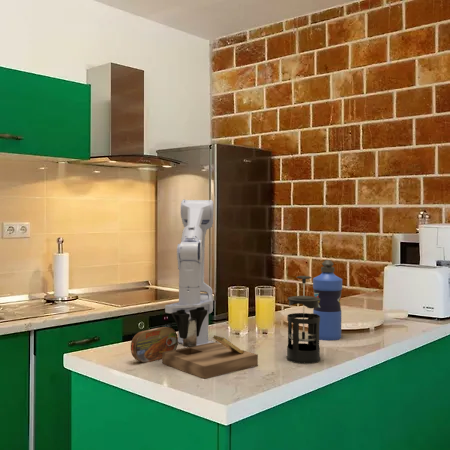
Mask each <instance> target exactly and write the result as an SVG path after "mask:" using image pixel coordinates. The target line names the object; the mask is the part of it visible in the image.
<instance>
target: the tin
mask: <svg viewBox="0 0 450 450" xmlns="http://www.w3.org/2000/svg"><path fill="white" fill-rule="evenodd" d="M130 342H131V343H130V352H131V356H132V358H134V359H135V360H136V361H138V362H142V363H143V364H144V363H145V364H146V363H151V362H154V361H159V360H162V352H166V351H171V350H176V349H178V345H179V342H178V333H177V332H176V331H175V329H173V328H172V327H169V326H167V327H165V326H162V327H155V328H151V329H146V330H142V331H138V332H137V333H136V334H135V335H134V336H133V337H132V340H131V341H130Z"/></svg>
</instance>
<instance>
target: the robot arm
mask: <svg viewBox="0 0 450 450" xmlns="http://www.w3.org/2000/svg"><path fill="white" fill-rule="evenodd" d="M214 208H215V207H214V200H212V199H209V200H208V199H182V200H181V202H180V218H181V222H182V226H183V230H182V233H181V239H180V243H177V247H176V260H177V270H178V302H174V303H170V304H165V305H164V311H165V312H164V313H166V314H171V316H172V318H173V320H174V321H175V324H176V328H177V331H178V333H177V337H178V344H179V343H180V344H182V345H183V339H186V338H187V324H188V319H189V318H194V319H197V345H202V344H207V343H213V342H214V340H210V339H209V314H211V313H212V312H214V311H213V309H214V295H213V293H214V291H213V289H212V287H211V286H210V285H208V283H206V282H205V255H206V253H205V252H206V249H205V248H206V242H205V241H206V235H207V231H208V230H209V229H211V228H213V224H214V216H215V215H214Z"/></svg>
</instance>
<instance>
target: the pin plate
mask: <svg viewBox="0 0 450 450" xmlns="http://www.w3.org/2000/svg"><path fill="white" fill-rule="evenodd" d="M243 351H244V353H243V354H240V353H237V352H233V351H231V350H229V349H228V348H226V347H225V346H224V345H222V344H221V343H219V342H215V341H213V343H207V344H202V345H197V346H195V347H183V348H177V349H176V350H171V351H166V352H162V359H161V360H162V361H161V362H162V364H163V365H166V366H168V367H171V368H174V369H177V370H180V371H182V372H185V373H187V374H191V375H193V376H195V377H198V378H201V379H208V378H213V377H218V376H223V375H226V374H229V373H233V372H239V371H242V370H246V369H251V368H254V367H258V365H259V364H258V363H259V361H258V360H259V358H258V357H259V354H257V353H253V352H251V351H246V350H243Z"/></svg>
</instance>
